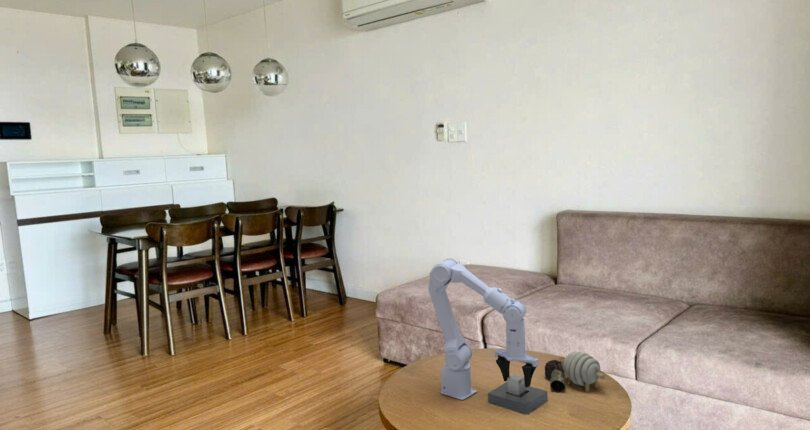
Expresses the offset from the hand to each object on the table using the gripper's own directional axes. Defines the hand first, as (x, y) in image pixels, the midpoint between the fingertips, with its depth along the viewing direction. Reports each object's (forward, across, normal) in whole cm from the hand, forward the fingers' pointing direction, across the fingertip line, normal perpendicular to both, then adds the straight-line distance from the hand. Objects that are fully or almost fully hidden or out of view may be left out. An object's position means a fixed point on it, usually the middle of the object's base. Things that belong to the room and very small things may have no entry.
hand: (516, 383), depth 175 cm
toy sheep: (+6, +11, +22) cm, 25 cm away
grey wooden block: (+6, 0, 0) cm, 6 cm away
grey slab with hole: (+6, 0, 0) cm, 6 cm away
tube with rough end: (+6, +2, +20) cm, 22 cm away
